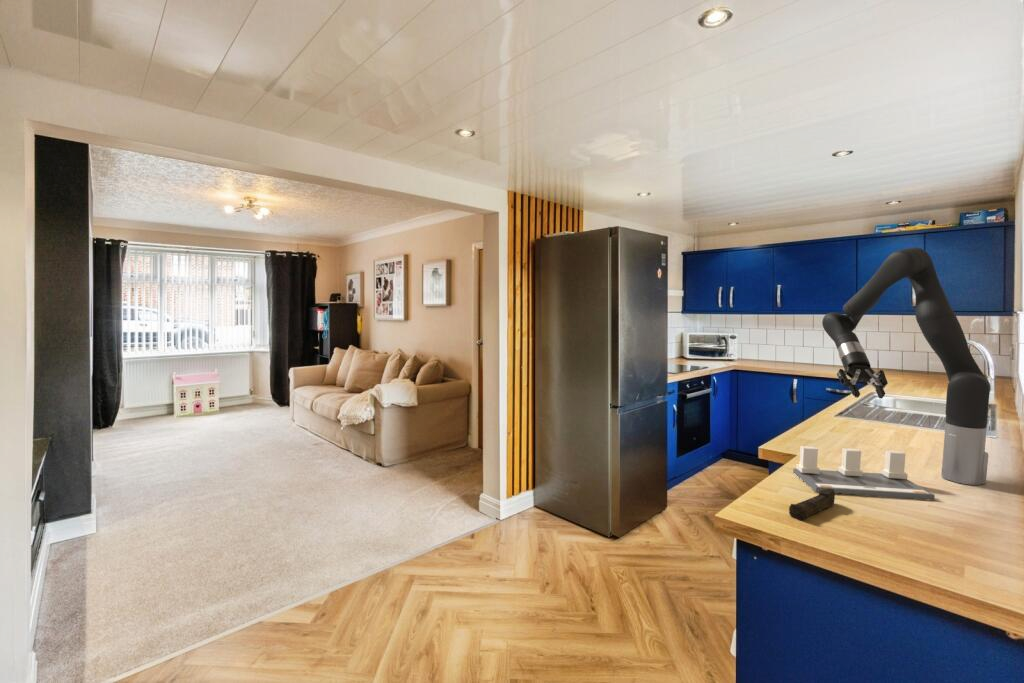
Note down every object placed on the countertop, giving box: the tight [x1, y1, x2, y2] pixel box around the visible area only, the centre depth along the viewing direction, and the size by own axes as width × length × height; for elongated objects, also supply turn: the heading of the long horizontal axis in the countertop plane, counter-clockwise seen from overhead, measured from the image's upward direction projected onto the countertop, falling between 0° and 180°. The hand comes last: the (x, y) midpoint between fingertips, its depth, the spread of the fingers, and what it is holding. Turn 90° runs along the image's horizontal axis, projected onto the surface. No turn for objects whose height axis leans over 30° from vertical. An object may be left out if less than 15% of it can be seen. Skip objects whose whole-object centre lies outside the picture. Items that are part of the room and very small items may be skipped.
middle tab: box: [837, 447, 864, 476], centre depth 148 cm, size 5×4×8 cm
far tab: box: [796, 445, 821, 474], centre depth 150 cm, size 5×4×8 cm
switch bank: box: [792, 468, 935, 501], centre depth 143 cm, size 30×16×2 cm, turn 80°
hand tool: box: [788, 489, 836, 521], centre depth 125 cm, size 19×4×5 cm, turn 119°
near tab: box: [880, 449, 909, 480], centre depth 146 cm, size 5×4×8 cm
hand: (869, 396), depth 160 cm, fingers open, 6 cm apart
